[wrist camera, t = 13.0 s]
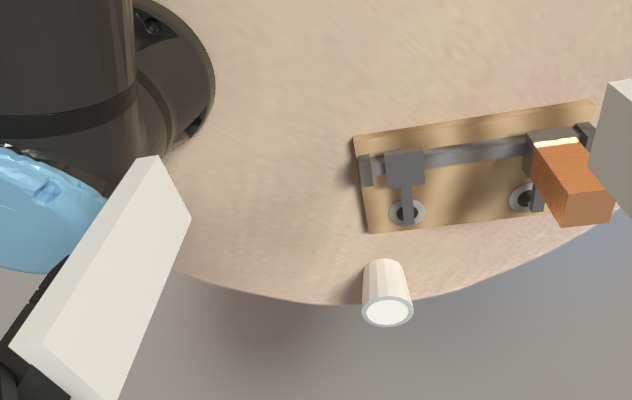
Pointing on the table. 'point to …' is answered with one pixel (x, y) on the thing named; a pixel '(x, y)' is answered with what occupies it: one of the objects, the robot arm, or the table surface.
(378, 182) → the bolt plate
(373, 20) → the table surface
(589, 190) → the block
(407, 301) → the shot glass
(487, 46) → the table surface
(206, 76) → the robot arm
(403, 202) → the fixed leg
